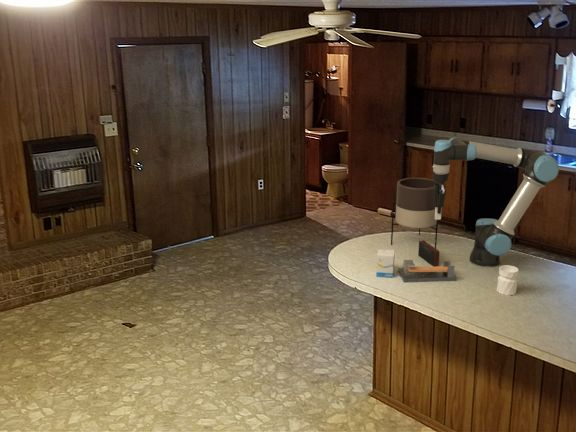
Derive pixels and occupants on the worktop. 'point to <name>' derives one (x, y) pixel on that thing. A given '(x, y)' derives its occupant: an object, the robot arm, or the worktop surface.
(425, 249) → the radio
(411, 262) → the keeper
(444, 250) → the worktop surface
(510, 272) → the vase
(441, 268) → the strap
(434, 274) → the base
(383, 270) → the ink box
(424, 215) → the planter
